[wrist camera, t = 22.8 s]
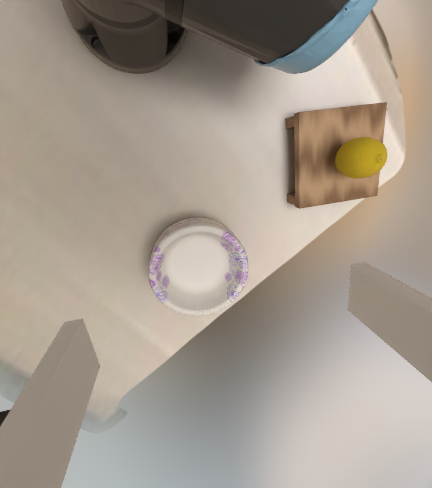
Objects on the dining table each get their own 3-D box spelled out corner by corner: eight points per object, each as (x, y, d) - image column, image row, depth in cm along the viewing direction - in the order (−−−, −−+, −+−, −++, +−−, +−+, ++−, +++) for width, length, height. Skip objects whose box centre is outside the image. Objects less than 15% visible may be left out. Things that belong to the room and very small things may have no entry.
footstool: (299, 112, 36) (386, 102, 38) (285, 116, 40) (365, 107, 42) (299, 208, 41) (377, 195, 43) (287, 203, 45) (358, 192, 47)
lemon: (324, 141, 38) (363, 138, 31) (358, 136, 39) (403, 132, 31) (324, 178, 40) (360, 184, 33) (356, 173, 41) (398, 177, 33)
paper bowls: (134, 238, 42) (127, 255, 35) (215, 197, 43) (226, 206, 35) (176, 305, 48) (178, 333, 41) (248, 269, 48) (263, 290, 41)
